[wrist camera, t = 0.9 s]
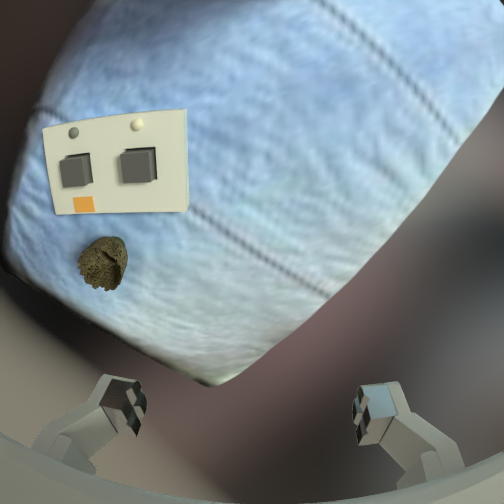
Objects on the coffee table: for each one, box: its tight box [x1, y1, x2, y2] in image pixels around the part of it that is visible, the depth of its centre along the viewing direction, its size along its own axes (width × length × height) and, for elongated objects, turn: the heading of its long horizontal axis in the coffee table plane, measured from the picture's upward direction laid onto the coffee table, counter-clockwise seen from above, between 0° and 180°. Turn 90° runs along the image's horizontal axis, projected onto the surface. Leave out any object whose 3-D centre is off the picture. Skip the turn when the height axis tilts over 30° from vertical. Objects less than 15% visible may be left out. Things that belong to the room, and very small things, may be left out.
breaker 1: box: [59, 153, 93, 188], centre depth 36 cm, size 4×4×3 cm
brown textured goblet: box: [78, 236, 128, 291], centre depth 43 cm, size 8×7×8 cm
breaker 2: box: [120, 147, 157, 183], centre depth 36 cm, size 4×4×3 cm
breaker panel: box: [43, 108, 190, 215], centre depth 38 cm, size 14×22×3 cm, turn 88°
